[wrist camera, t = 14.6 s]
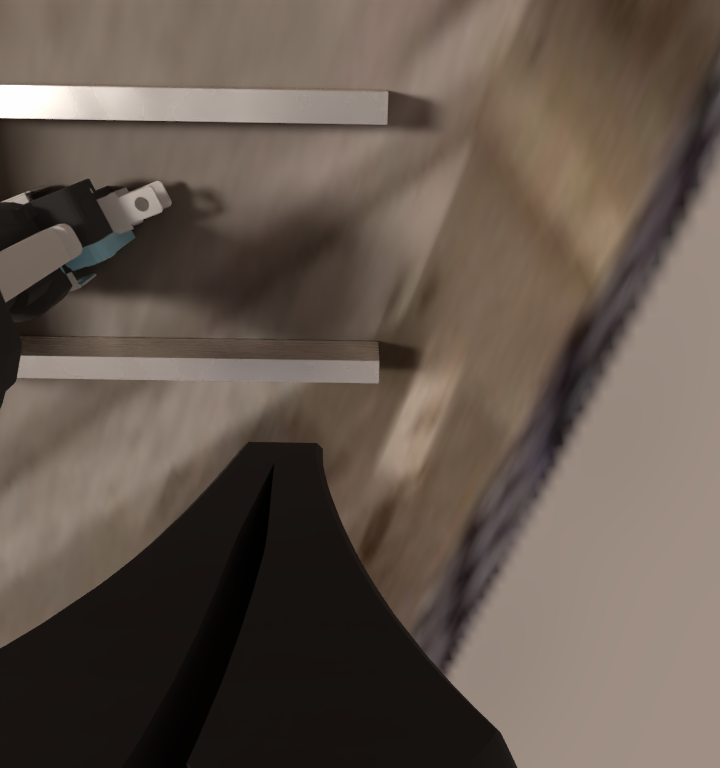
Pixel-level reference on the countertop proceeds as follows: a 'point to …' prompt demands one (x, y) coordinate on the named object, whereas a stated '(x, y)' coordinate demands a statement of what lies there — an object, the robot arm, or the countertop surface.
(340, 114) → the rail
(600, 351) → the countertop surface
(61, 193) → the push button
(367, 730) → the robot arm
